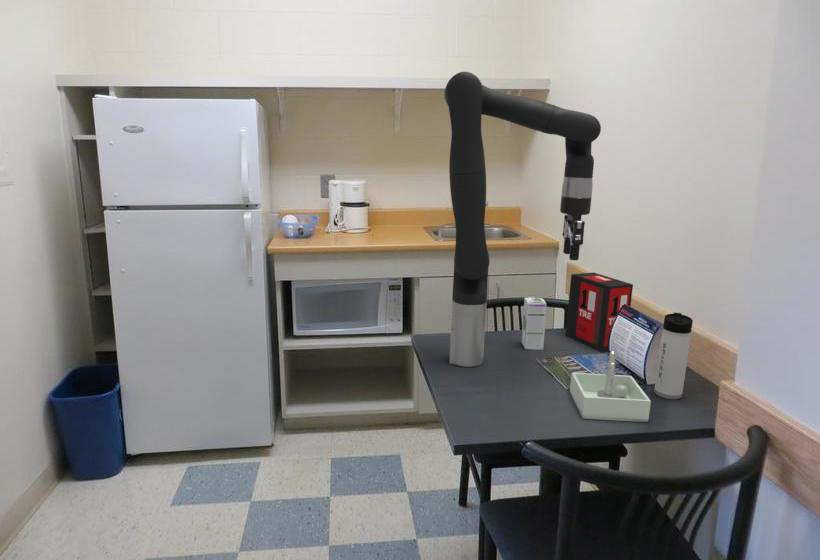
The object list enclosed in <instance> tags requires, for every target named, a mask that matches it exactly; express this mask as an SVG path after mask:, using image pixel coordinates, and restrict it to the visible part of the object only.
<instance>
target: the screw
mask: <svg viewBox="0 0 820 560" xmlns="http://www.w3.org/2000/svg"><path fill="white" fill-rule="evenodd" d="M608 356H609V357H608V362H606V363H607V364H606V372H605V373H606V375H607V376H606V379H605V380H606V382H605V383H606V384H605V389H604V390H601V391H599V392H597V396H598V397H605V398H619V396H618V395H617V394H616V393H615V392H613V391H612V390H613V386H612V385H613V383H614V381H613V380H614V379H613V378H614V375H615V372H616V363H617V362H616V351H611V352H609V355H608Z"/></svg>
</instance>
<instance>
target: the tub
mask: <svg viewBox="0 0 820 560" xmlns="http://www.w3.org/2000/svg"><path fill="white" fill-rule="evenodd" d="M606 374H607V373H606ZM606 374H605V373H604V374H603V373H584V372H571V377H570V385H569V394H570V395H571V397H572V399H573V402H574V404H575V406H576V409H577V410H578V412H579V413H580V417H581V418H582V419H583V420H584V419H587V420H603V421H604V420H605V421H619V422H635V423H637V422H638V423H649V417H650V410H651V403H652V401H651V400H650V398H649V396H648V395H647V394H646V393H645V391H644V390H643V389H642V388H641V387H640V385H639V384H638V382H637V381H636V380H635V379H634V377H633V376H632V375H623V374H614V378H613V379H614V380H613V381H614V383H613V385H612V386H613V390H612V391H613V392H615V388H616V387H617V386H618V385H624V386H626V387H627V389H628V394H627V396H625V397H623V398H621V397H619V398H605V397H598V396H597V392H599V391H601V390H604V389H605V384H606V383H605V382H606V380H605V379H606V376H607V375H606Z"/></svg>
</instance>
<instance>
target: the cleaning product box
mask: <svg viewBox="0 0 820 560" xmlns="http://www.w3.org/2000/svg"><path fill="white" fill-rule="evenodd" d="M569 285H570V286H569V297H568V306H567V317H566V326H565V337H568V338H570V339H572V340H574V341H576V342H578V343H580V344H582V345H585V346H586V347H589V348H591V349H593V350H595V351H597V352H600V353H601V354H604V353H609V352H608V338H609V332H610V328H611V326H612V323H613V322H614V319H615V318H616V315H617V313H618V312H619V310H620V308H621V307H622V305H624V304H626V305H628V306H630V307H631V304H632V297H633V296H632V295H633V289H634V288H633V287H634V284H633V283H630V282H627V281H624V280H620V279H616V278H613V277H610V276H607V275H603V274H601V273H596V272H584V273H582V272H581V273H572V274H571V275H570V283H569Z"/></svg>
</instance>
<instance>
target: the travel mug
mask: <svg viewBox="0 0 820 560" xmlns="http://www.w3.org/2000/svg"><path fill="white" fill-rule="evenodd" d="M693 322H694V320H693V318H691V317H690V316H688V315H685V314H682V312H673V313H668V314H665V315H664V318H663V325H662V332H661V340H660V347H659V353H658V354H659V355H658V361H657V362H658V363H657V369H656V374H655V375H656V376H655V383H654V389H653V392H654V394H655V395H657V396H658V397H660V398H663V399H666V400H679V399H681V398H682V397H683V389H684V384H685V377H686V371H687V365H688V359H689V350H690V343H691V336H692V330H693V329H692V328H693Z"/></svg>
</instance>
